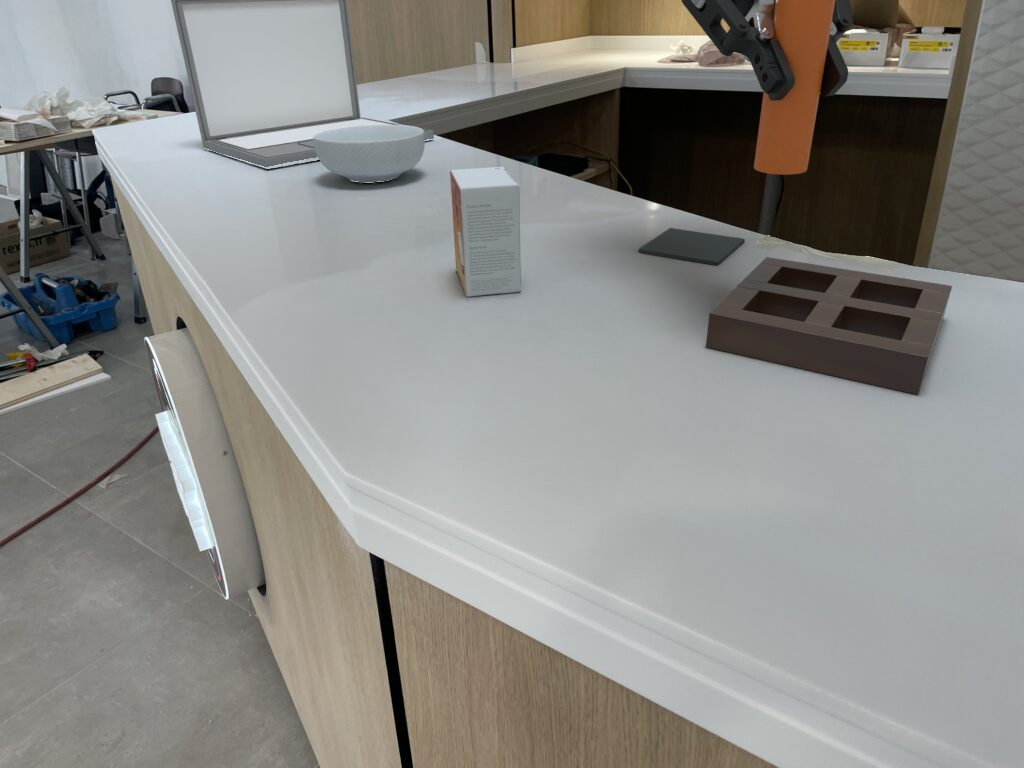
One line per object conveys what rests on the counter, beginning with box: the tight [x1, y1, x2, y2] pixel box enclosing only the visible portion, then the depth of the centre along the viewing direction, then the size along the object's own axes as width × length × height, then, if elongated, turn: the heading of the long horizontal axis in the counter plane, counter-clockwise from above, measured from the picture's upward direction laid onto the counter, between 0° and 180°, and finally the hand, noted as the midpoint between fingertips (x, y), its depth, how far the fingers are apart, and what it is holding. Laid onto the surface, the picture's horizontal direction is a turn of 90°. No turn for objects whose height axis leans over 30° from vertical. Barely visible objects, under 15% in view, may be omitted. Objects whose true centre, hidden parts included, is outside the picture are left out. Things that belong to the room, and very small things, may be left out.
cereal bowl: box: [314, 124, 426, 182], centre depth 114 cm, size 17×17×7 cm
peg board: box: [705, 256, 953, 396], centre depth 61 cm, size 16×16×3 cm
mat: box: [638, 227, 746, 266], centre depth 82 cm, size 9×9×1 cm
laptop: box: [170, 0, 435, 167], centre depth 135 cm, size 35×28×26 cm
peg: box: [753, 0, 835, 176], centre depth 55 cm, size 4×4×12 cm
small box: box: [449, 166, 522, 298], centre depth 71 cm, size 8×6×10 cm
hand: (810, 90), depth 53 cm, fingers closed on peg, 4 cm apart
